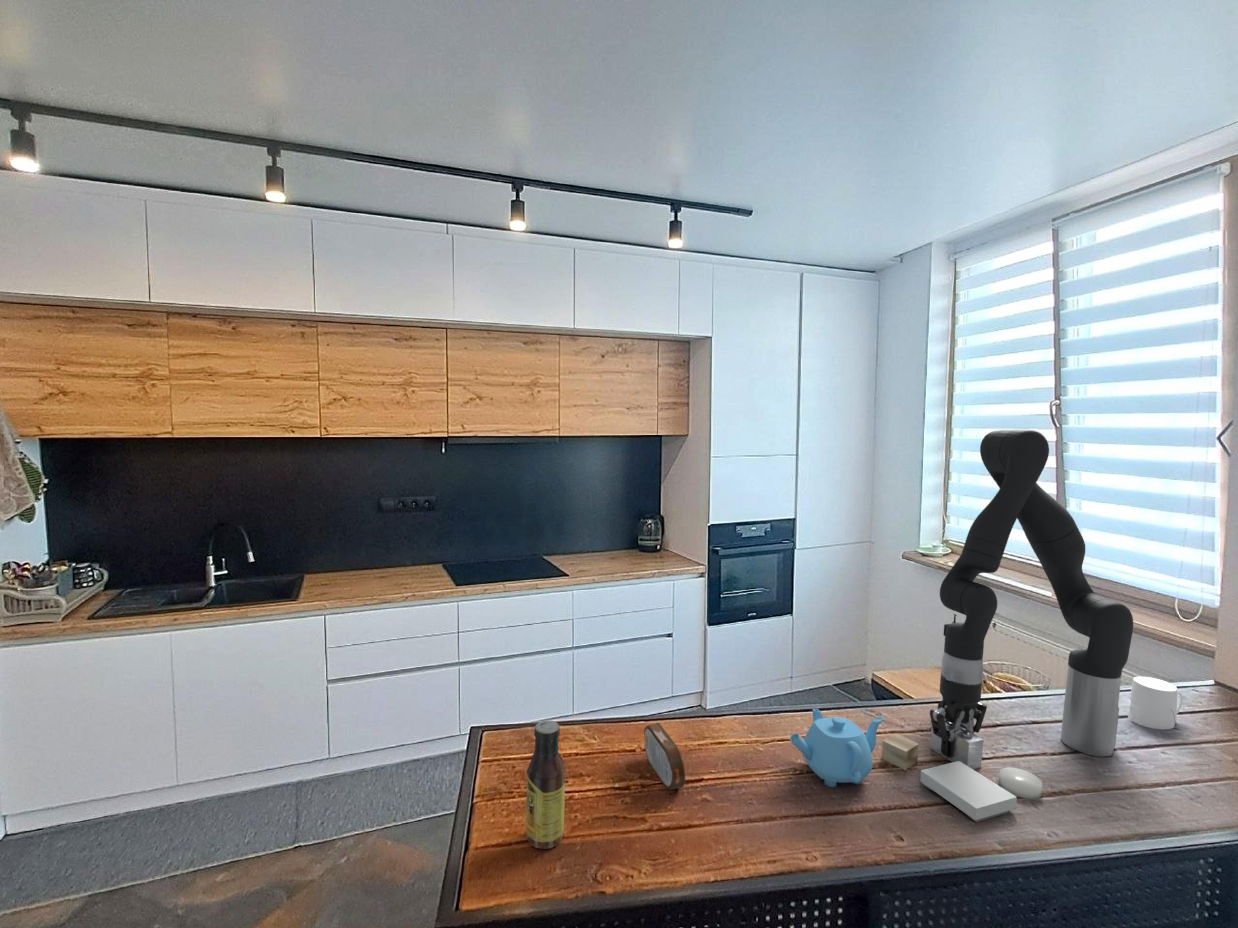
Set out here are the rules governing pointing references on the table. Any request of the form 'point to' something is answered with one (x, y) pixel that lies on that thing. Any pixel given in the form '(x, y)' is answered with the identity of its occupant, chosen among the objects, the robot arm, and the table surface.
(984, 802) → the stand
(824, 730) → the teapot
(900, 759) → the oak block
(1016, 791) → the glossy white pebble
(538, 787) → the sauce bottle
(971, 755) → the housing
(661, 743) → the tin
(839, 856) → the table surface
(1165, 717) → the mug
